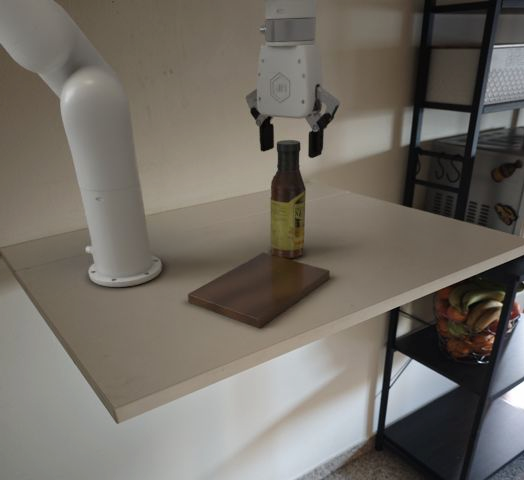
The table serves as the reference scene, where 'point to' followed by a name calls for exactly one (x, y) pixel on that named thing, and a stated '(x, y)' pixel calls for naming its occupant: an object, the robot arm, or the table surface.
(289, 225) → the sauce bottle
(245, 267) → the serving board
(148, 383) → the table surface
